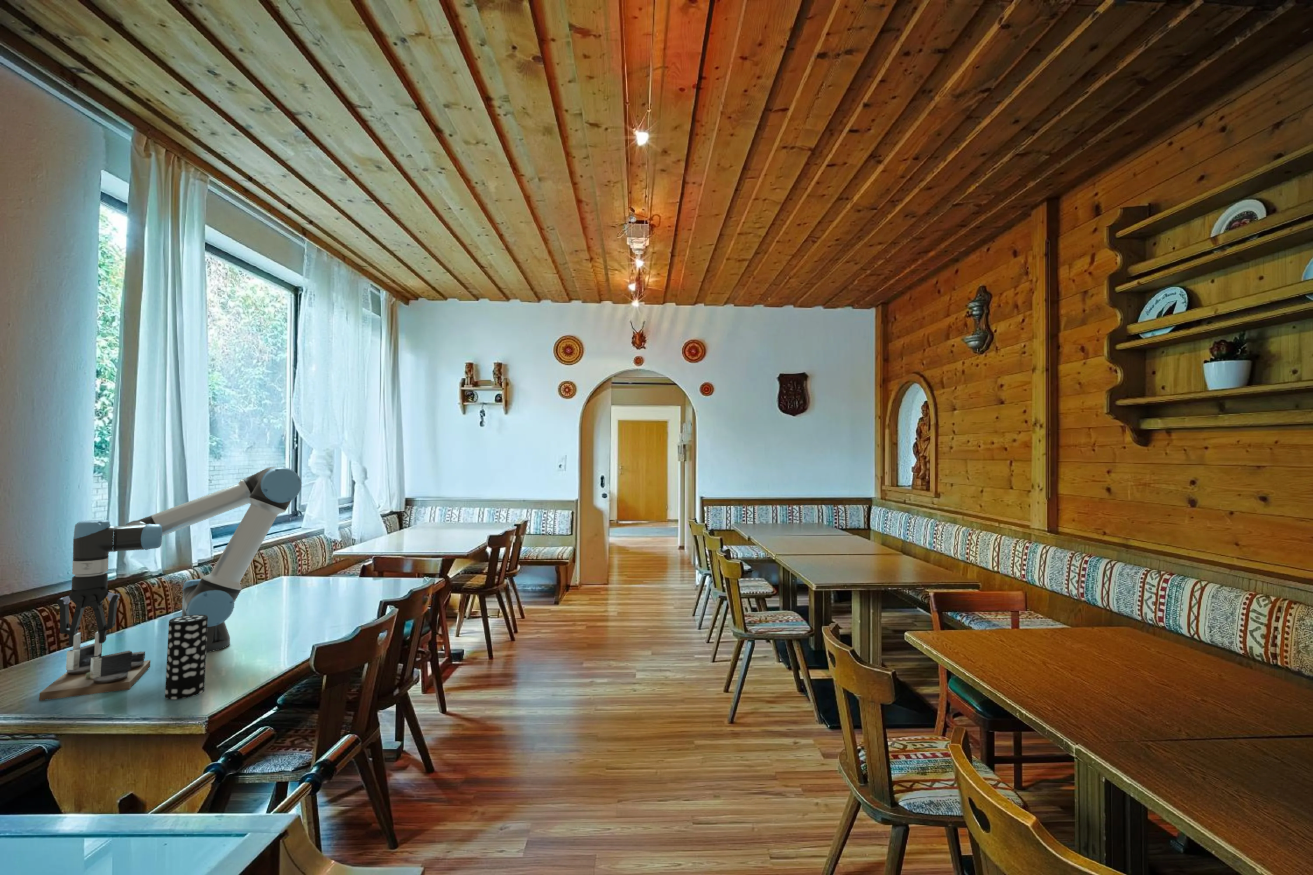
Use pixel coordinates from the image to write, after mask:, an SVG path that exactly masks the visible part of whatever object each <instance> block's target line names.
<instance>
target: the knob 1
mask: <svg viewBox="0 0 1313 875" xmlns="http://www.w3.org/2000/svg"><path fill="white" fill-rule="evenodd" d="M94 650H95V642H94V643H91V644H88V645H83V646H80V648H77V649H74V650H73V649H71V650H67V651H66V661H65V662H66V664H65V670H66V672H67V674H83V673H88V672H90V667H91V658H93V657H98V656H99V657H100V656H103V655H102V654H103V643H102V644H101V653H100V654H99V655H98V656H94Z"/></svg>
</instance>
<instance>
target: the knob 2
mask: <svg viewBox="0 0 1313 875" xmlns="http://www.w3.org/2000/svg"><path fill="white" fill-rule="evenodd" d="M132 653H133V651H131V650H125V651H121V652H114V653H111V654H105V655H102V656H100V657H99V656H98V657H93V658H91V667H90V677H91V678H92V679H93V678H94V679H93V682H94V683H110V682H115V681H119V680H122V679H125V678H126V677H128V670H131V662H132Z"/></svg>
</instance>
